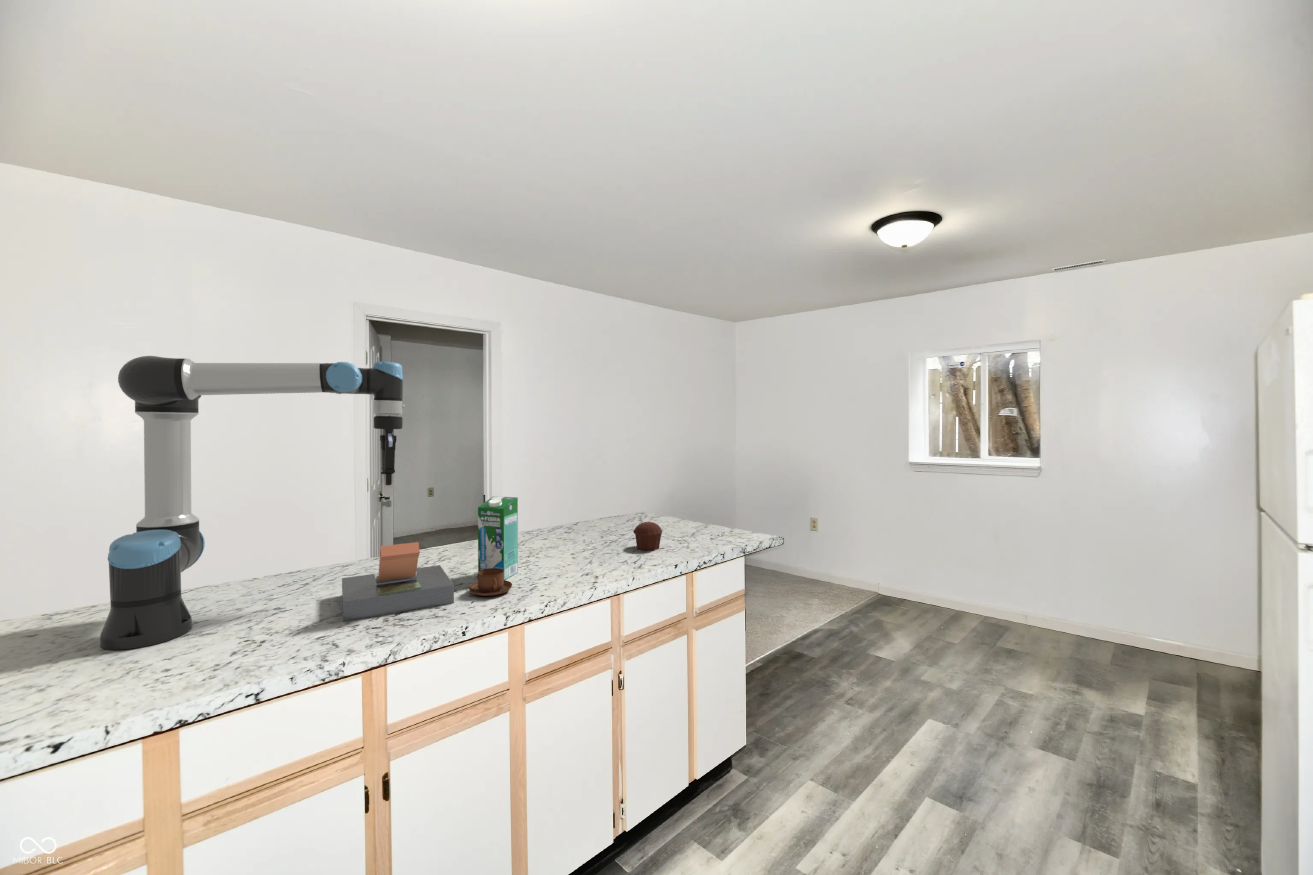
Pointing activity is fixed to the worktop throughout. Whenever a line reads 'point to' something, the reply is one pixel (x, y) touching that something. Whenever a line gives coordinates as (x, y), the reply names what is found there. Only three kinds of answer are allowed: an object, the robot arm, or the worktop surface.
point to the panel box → (395, 593)
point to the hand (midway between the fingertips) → (387, 495)
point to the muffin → (648, 536)
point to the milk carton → (498, 535)
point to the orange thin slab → (398, 562)
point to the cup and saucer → (490, 583)
